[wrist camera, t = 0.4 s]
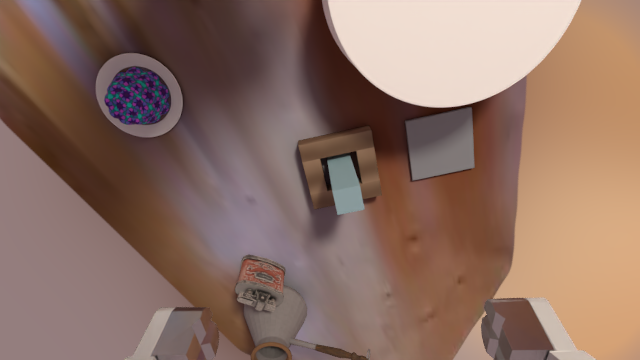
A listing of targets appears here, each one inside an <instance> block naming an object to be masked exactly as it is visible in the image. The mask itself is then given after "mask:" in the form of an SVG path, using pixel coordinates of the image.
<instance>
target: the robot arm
mask: <svg viewBox="0 0 640 360" xmlns="http://www.w3.org/2000/svg"><path fill="white" fill-rule="evenodd" d="M484 308H485V311H486V314H487V315H486V316H485V317H484V318H482V324H481V331H482V338H483V343H484V346H485V349H486V352H487V353H488V354H489V355H490V356H491V357H492V358H494V360H596V359H595V358H593V357H592V356H591V355H589V354H588V353H587V352H585V351H582V350H577V348H576V347H575V345H574V343H573V342H572V340H571V338H570V337H569V335H568V333H567V332H566V330H565V328H564V327H563V325H562V324H561V322H560V320H559V318H558V317H557V315H556V313H555V312H554V310H553V308H552V307H551V305H550V303H549V302H548V300H546V299H545V298H507V299H488V300H487V301H486V302H485V307H484ZM212 315H213V314H212V312H211V310H210V308H208V307H190V308H189V307H176V308H175V307H173V308H159V309H158V310H157V312H155V314H154V316H153V318H152V320H151V322H150V324H149V325H148V327H147V329H146V331H145V333H144V335H143V337H142V339H141V341H140V343H139V345H138V347H137V349H136V350H135V352H134V354H133V356H132V357H127V358H125V359H124V360H212V359H213V358H214V357H215V356H216V352H217V349H218V343H219V332H218V328H217V325H216V324H215V323H214V322H212V321H211V318H212Z"/></svg>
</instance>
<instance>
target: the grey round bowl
mask: <svg viewBox="0 0 640 360" xmlns="http://www.w3.org/2000/svg"><path fill="white" fill-rule="evenodd" d="M132 66H140V67H144V68H147V69H150V70H152V71H153V72H155V73H156V74H158V75H159V76H160V77H161V78H162V79H163V80H164V82H165V83H166V85H167V86H168V89H169V91H170V94H171V107H170V111H169V112H168V110H169V103H168V101H167V99H168V97H169V91H168V89H167V87H166V86H165V85H163V84H161V83H160V79H159V77H158V76H157V75H156V74H155V73H153V72H151V71H148V72H144V71H143V70H142V69H140V68H138V67H132ZM127 67H132V68H129V69H128V71H127V72H120V73H118V72H119V71H121V70H122V69H124V68H127ZM117 73H118V74H117ZM116 74H117V75H116ZM115 75H116V76H115ZM114 77H115V78H114ZM113 78H114V79H113ZM112 80H113V81H112ZM96 96H97V100H98V103H99V106H100V108H101V109H102V111H103V113H104V114H105V116H106V117H107V118H108V119H109V120H110V121H111V122H112V123H113V124H114V125H115V126H116V127H118V128H119V129H121V130H122V131H124V132H126V133H128V134H131V135H134V136H138V137H156V136H159V135H162V134H164V133H166V132H168V131H169V130H171V129H172V128H173V127H174V126H175V125H176V123H177V122H178V120H179V118H180V116H181V112H182V107H183V99H182V93H181V89H180V87H179V85H178V82H177V81H176V79H175V77H174V76H173V74H172V73H171V72H170V71H169V70H168V69H167V68H166V67H165V66H164V65H163V64H161V63H160V62H158V61H157V60H155V59H153V58H151V57H148V56H146V55H142V54H138V53H126V54H121V55H117V56H115V57H113V58H111V59H110V60H108V61H107V62H106V63H105V64H104V65H103V66H102V68H101V69H100V71H99V73H98V76H97V79H96ZM167 112H168V114H167V116H166V117H165V118H164V119H163V120H162V121H160V122H158V121H159V120H160V118H161V115H163V114H166V113H167ZM156 122H158V123H156ZM149 123H156V124H152V125H141V124H149Z"/></svg>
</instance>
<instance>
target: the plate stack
mask: <svg viewBox="0 0 640 360" xmlns="http://www.w3.org/2000/svg"><path fill="white" fill-rule="evenodd" d="M580 2H581V0H322V4H323V10H324V14H325V18H326V21H327V24H328V27H329V29H330V32H331V34H332V36H333V38H334V40H335V42H336V43H337V45H338V47H339V48H340V50H341V51H342V53H343V54H344V55H345V56H346V58H347V59H348V60H349V61H350V62H351V63H352V64H353V65H354V66H355V67H356V68H357V70H358V71H359V72H360V73H361V74H362V75H363V76H364V77H365V78H366V79H367V80H369V81H370V82H371V83H372V84H373V85H375V86H376V87H377V88H379V89H380V90H382V91H383V92H385V93H387V94H388V95H390V96H392V97H394V98H396V99H399V100H401V101H404V102H407V103H410V104H414V105H419V106H425V107H436V108H445V107H456V106H462V105H467V104H471V103H475V102H478V101H481V100H484V99H486V98H489V97H491V96H493V95H495V94H497V93H500V92H501V91H503V90H505V89H507V88H508V87H510V86H512V85H513V84H515V83H516V82H518V81H519V80H520V79H522V78H523V77H524V76H526V75H527V74H528V73H529V72H530V71H532V70H533V69H534V68H535V67H536V66H537V65H538V64H539V63H540V62H541V61H542V60H543V59H544V58H545V57H546V56H547V55H548V53H549V52H550V51H551V50H552V49H553V47H554V46H555V45H556V44H557V42H558V41H559V39H560V38H561V37H562V35H563V34H564V32H565V31H566V29H567V28H568V26H569V24H570V22H571V21H572V19H573V17H574V15H575V13H576V11H577V9H578V7H579V4H580Z"/></svg>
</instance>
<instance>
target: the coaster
mask: <svg viewBox="0 0 640 360" xmlns="http://www.w3.org/2000/svg"><path fill="white" fill-rule="evenodd" d="M405 127H406V135H407V143H408V152H409V160H410V168H411V177H412V180H418V179H423V178H428V177H432V176H437V175H442V174H447V173H451V172H456V171H461V170H466V169H470V168H474V146H473V122H472V107H466V108H461V109H457V110H452V111H447V112H443V113H438V114H434V115H429V116H424V117H420V118H415V119H411V120H406V121H405Z"/></svg>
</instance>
